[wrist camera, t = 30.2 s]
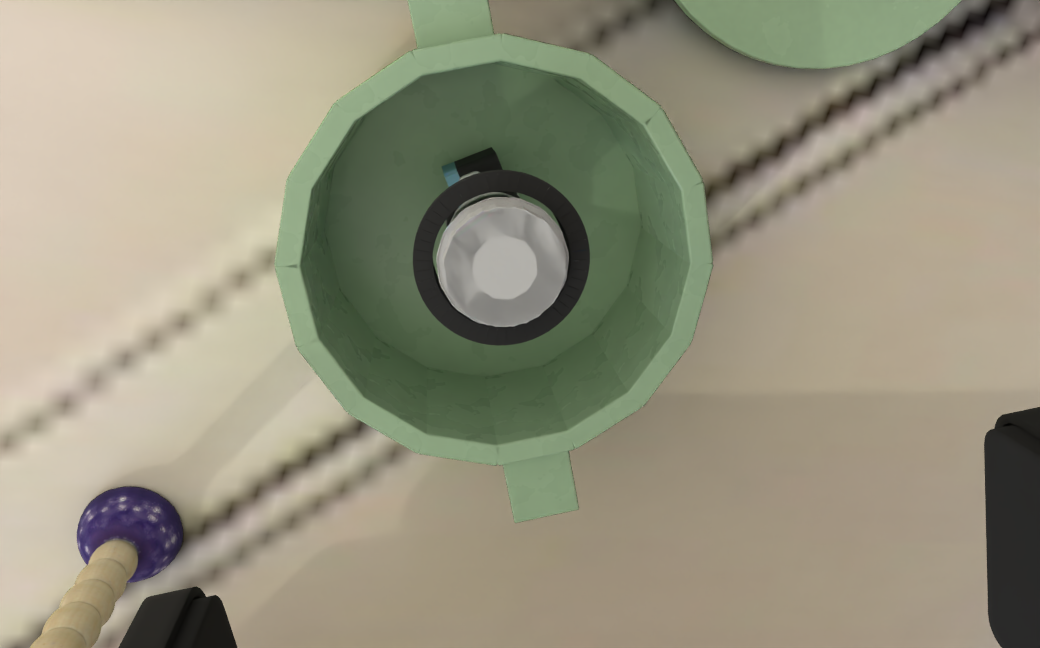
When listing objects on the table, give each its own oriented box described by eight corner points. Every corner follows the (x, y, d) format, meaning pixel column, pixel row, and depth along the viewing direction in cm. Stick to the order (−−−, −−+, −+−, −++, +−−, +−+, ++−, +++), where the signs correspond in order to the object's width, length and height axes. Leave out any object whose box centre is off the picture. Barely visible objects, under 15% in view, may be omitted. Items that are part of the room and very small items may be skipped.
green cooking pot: (618, -62, 33) (672, -98, 26) (682, 408, 39) (740, 485, 32) (249, 5, 32) (199, -12, 25) (368, 473, 38) (355, 568, 31)
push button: (579, 279, 36) (634, 356, 27) (458, 326, 36) (470, 420, 27) (522, 124, 34) (560, 146, 25) (395, 174, 34) (382, 216, 25)
